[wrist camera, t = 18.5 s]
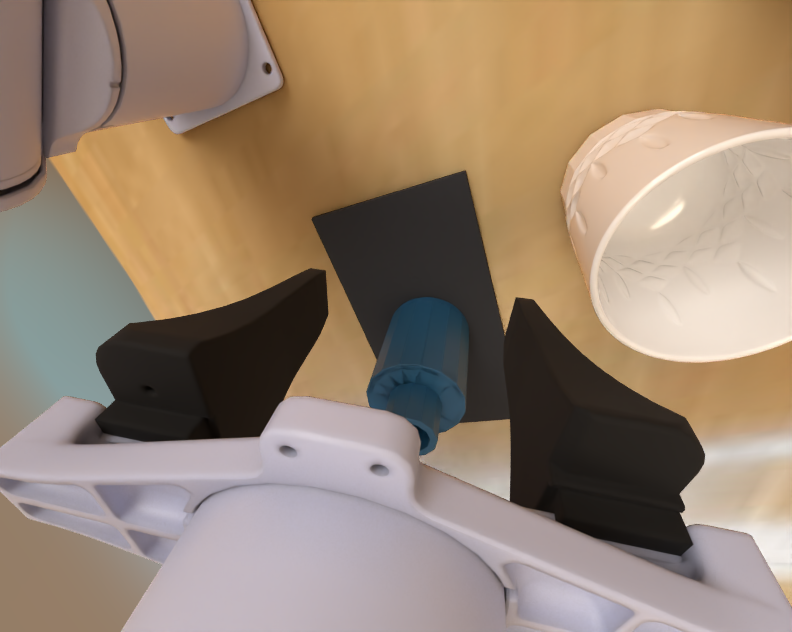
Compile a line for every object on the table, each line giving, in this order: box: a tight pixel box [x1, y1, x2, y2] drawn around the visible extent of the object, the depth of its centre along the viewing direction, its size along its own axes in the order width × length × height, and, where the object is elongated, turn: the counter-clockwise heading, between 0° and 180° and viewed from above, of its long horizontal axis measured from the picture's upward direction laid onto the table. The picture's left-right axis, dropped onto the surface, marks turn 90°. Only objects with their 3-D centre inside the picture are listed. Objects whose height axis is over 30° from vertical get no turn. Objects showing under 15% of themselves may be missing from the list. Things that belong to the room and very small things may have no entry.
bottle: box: [366, 297, 469, 455], centre depth 23 cm, size 6×6×10 cm
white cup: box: [560, 109, 792, 362], centre depth 16 cm, size 8×8×10 cm
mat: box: [312, 171, 510, 423], centre depth 27 cm, size 20×10×1 cm, turn 19°
